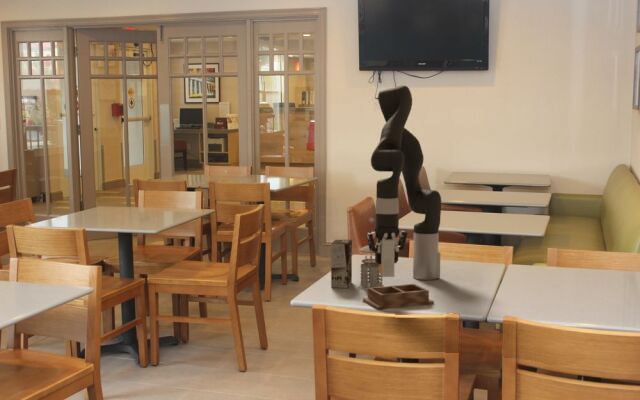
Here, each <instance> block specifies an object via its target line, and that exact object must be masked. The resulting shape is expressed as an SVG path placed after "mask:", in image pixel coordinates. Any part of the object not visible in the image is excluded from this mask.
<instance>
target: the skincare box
mask: <svg viewBox="0 0 640 400" xmlns="http://www.w3.org/2000/svg"><path fill="white" fill-rule="evenodd" d="M380 253H381V264H379V273H380V274H379V275H381V276H382V277H381V278H388V277H389V278H394V277H395V263H394V257H395V241H394V240H393V239H386V240H382V247H381V252H380Z"/></svg>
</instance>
